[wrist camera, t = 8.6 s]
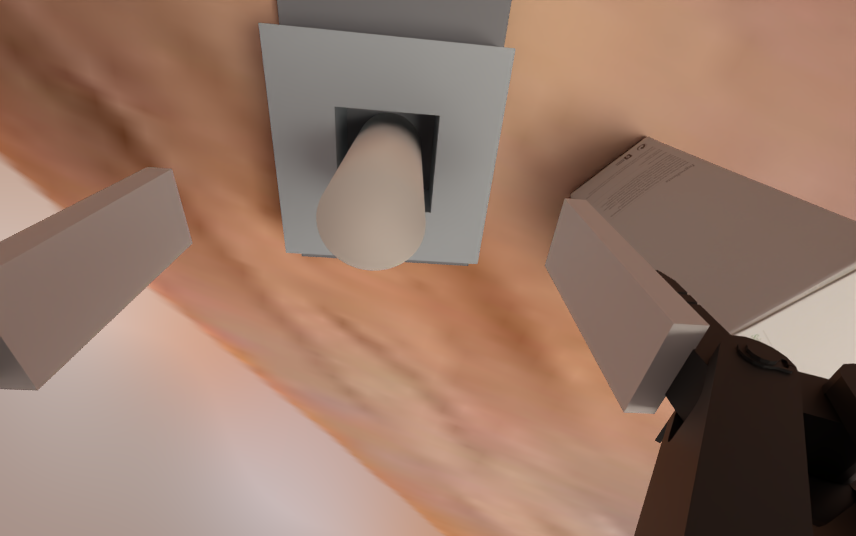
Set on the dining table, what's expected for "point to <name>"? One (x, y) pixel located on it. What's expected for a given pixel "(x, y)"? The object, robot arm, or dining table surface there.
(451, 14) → the socket
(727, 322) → the skincare box
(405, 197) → the dowel
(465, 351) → the dining table surface
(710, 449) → the robot arm
